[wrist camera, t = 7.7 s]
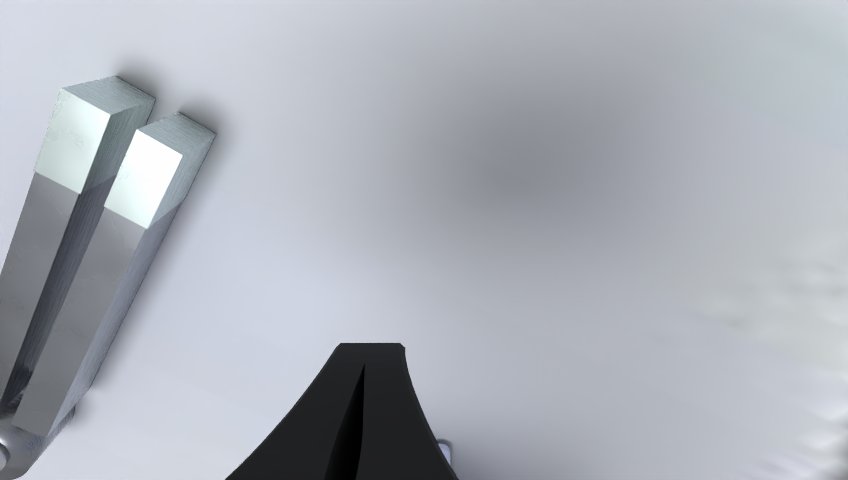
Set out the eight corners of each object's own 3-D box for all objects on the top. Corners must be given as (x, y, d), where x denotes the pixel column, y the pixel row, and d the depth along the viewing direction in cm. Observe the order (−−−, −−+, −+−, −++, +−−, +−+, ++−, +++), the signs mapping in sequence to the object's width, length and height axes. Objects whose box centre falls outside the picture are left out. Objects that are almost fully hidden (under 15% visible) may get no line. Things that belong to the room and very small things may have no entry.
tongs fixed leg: (64, 439, 25) (15, 500, 22) (-7, 410, 24) (-69, 468, 21) (216, 134, 19) (176, 159, 16) (128, 82, 18) (69, 97, 15)
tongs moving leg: (44, 369, 24) (-5, 417, 21) (10, 355, 23) (-44, 402, 20) (155, 99, 19) (110, 115, 16) (114, 76, 18) (61, 88, 16)
